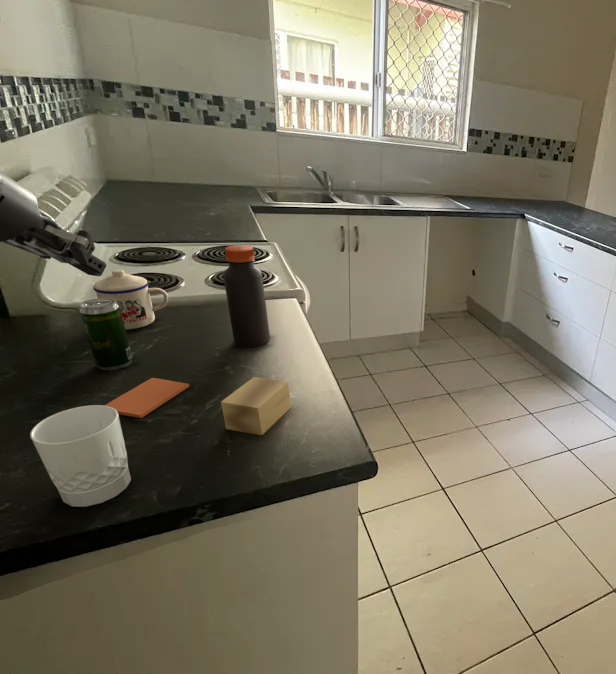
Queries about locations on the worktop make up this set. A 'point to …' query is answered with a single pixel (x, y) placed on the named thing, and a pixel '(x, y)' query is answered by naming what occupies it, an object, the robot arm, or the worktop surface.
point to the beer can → (106, 333)
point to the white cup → (84, 454)
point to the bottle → (245, 297)
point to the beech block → (256, 405)
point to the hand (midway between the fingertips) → (99, 270)
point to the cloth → (146, 397)
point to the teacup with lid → (130, 297)
